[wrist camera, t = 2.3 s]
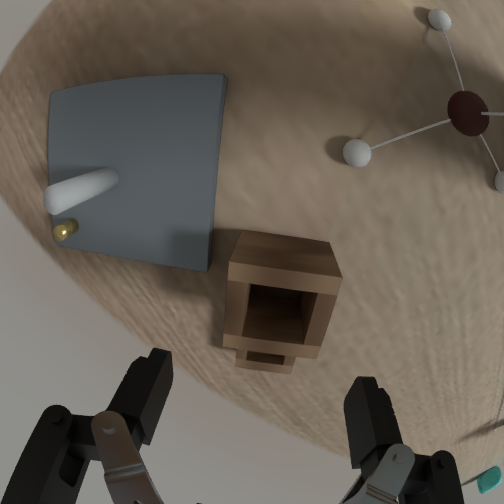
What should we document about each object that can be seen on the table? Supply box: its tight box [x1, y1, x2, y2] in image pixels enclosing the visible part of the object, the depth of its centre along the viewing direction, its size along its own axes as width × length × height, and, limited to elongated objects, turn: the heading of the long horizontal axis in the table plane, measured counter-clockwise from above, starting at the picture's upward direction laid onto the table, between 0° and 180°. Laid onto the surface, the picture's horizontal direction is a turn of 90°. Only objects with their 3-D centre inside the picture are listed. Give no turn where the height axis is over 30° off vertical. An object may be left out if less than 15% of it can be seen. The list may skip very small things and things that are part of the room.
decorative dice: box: [477, 466, 502, 494], centre depth 40 cm, size 8×8×8 cm
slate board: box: [43, 74, 227, 272], centre depth 15 cm, size 14×13×7 cm
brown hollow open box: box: [223, 230, 342, 374], centre depth 19 cm, size 6×11×5 cm, turn 174°
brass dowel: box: [53, 218, 79, 242], centre depth 18 cm, size 1×1×2 cm
